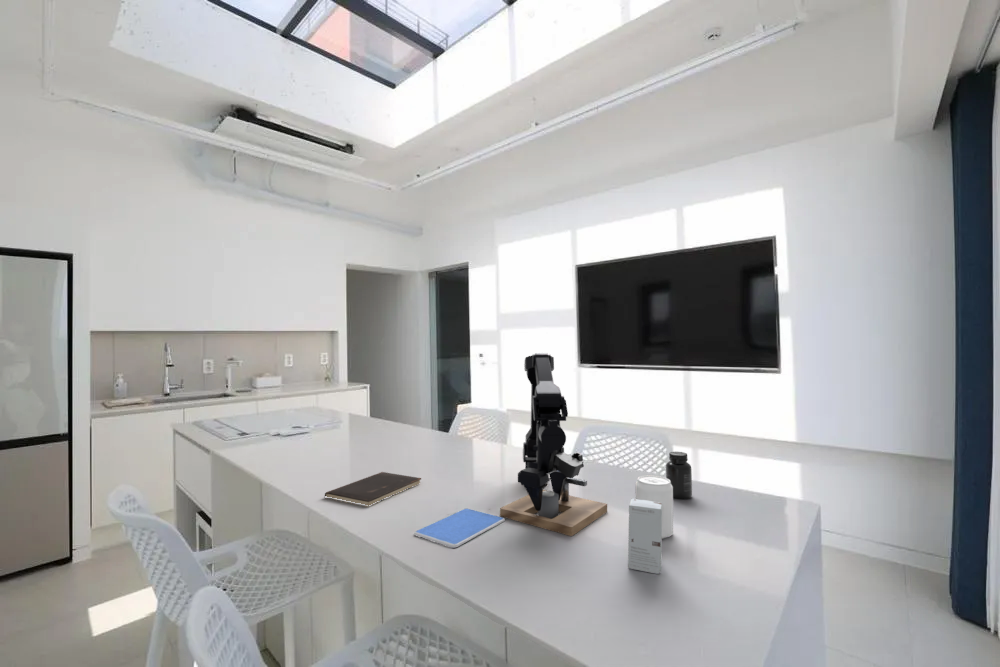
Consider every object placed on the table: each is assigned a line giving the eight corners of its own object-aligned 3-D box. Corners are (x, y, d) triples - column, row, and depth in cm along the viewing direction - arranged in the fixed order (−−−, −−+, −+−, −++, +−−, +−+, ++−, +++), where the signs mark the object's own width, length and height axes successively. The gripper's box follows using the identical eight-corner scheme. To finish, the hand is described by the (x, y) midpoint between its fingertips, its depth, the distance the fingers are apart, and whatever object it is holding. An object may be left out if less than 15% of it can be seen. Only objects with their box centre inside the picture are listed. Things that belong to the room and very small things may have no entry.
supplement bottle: (687, 492, 133) (687, 450, 134) (695, 500, 127) (695, 456, 127) (663, 491, 134) (663, 450, 134) (669, 499, 127) (669, 455, 128)
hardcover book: (421, 485, 141) (421, 478, 141) (368, 509, 121) (368, 500, 121) (380, 478, 148) (380, 471, 148) (324, 500, 128) (324, 491, 128)
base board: (500, 516, 115) (500, 508, 115) (540, 496, 130) (540, 489, 130) (571, 536, 103) (571, 527, 103) (607, 511, 118) (607, 503, 118)
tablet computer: (466, 511, 119) (466, 506, 119) (506, 522, 112) (506, 517, 112) (412, 537, 103) (412, 531, 103) (455, 551, 96) (455, 545, 96)
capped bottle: (534, 518, 113) (534, 493, 113) (545, 512, 117) (545, 488, 117) (552, 523, 110) (552, 497, 110) (562, 516, 114) (562, 491, 114)
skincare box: (627, 569, 88) (627, 505, 88) (630, 559, 92) (629, 497, 92) (661, 575, 85) (661, 509, 86) (662, 564, 90) (662, 501, 90)
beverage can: (654, 543, 99) (654, 487, 99) (628, 529, 106) (627, 477, 107) (681, 536, 103) (680, 482, 103) (653, 523, 110) (653, 473, 110)
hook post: (559, 500, 120) (559, 477, 121) (563, 498, 122) (563, 475, 122) (584, 505, 116) (584, 482, 116) (587, 503, 118) (587, 480, 118)
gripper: (557, 453, 102) (557, 524, 102) (594, 439, 117) (594, 501, 117) (516, 446, 109) (516, 513, 108) (556, 434, 124) (556, 493, 123)
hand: (548, 505), depth 114 cm, fingers open, 9 cm apart
